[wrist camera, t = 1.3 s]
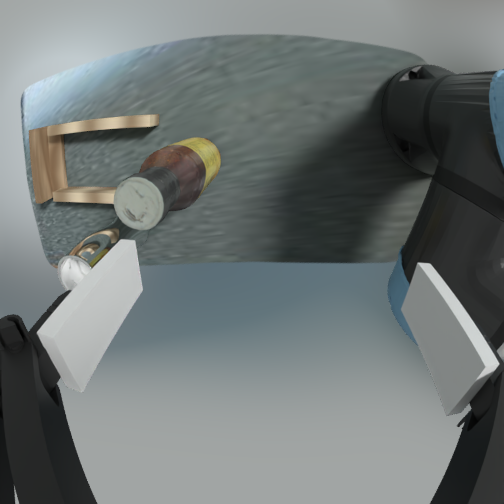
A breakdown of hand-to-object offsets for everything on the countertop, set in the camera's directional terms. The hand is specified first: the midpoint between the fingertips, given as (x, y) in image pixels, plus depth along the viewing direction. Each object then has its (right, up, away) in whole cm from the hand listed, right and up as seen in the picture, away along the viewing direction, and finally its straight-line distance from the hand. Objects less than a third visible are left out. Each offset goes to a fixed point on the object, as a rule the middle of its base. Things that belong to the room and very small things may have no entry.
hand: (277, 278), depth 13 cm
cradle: (-24, +15, +24) cm, 38 cm away
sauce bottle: (-8, +13, +24) cm, 28 cm away
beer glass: (-19, +5, +29) cm, 36 cm away
